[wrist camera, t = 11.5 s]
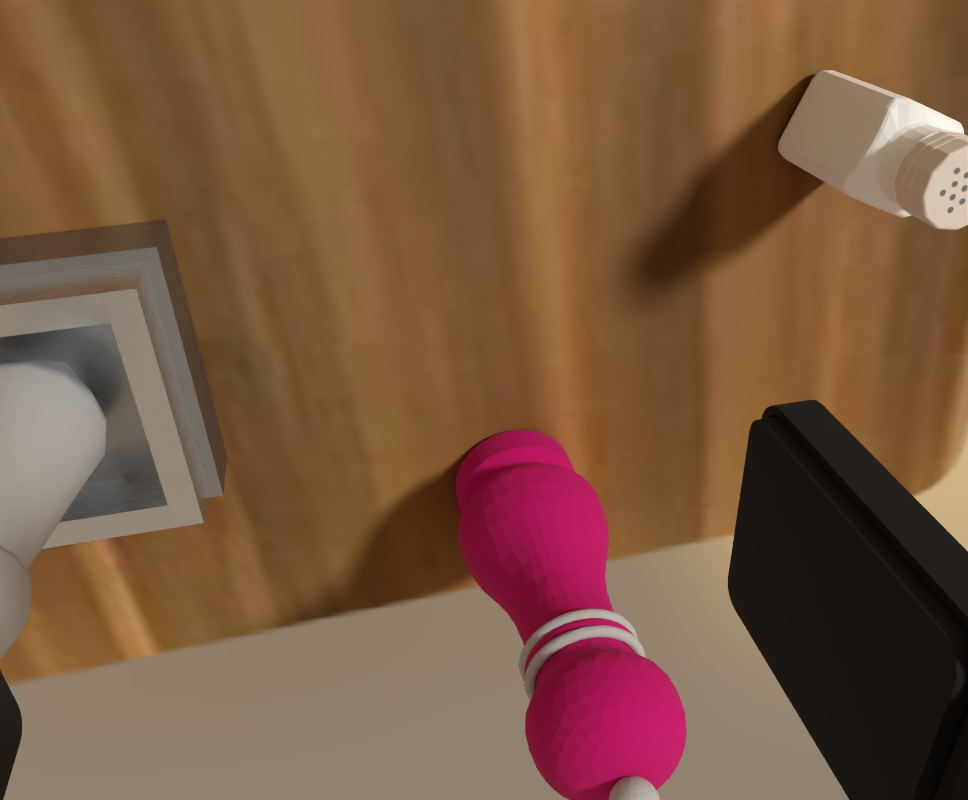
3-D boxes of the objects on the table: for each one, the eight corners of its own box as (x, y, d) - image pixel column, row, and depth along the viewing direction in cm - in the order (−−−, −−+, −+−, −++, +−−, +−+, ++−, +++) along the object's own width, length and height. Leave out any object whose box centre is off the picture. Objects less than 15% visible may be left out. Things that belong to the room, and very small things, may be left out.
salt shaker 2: (835, 178, 40) (970, 254, 33) (767, 150, 39) (891, 222, 31) (884, 95, 39) (1038, 153, 31) (814, 62, 37) (957, 115, 29)
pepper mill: (603, 446, 46) (786, 776, 29) (534, 545, 49) (666, 899, 32) (487, 401, 43) (616, 739, 26) (421, 509, 46) (500, 878, 29)
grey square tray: (-174, 258, 34) (-246, 320, 29) (165, 220, 36) (147, 272, 31) (-56, 500, 40) (-100, 582, 36) (226, 457, 42) (219, 530, 37)
